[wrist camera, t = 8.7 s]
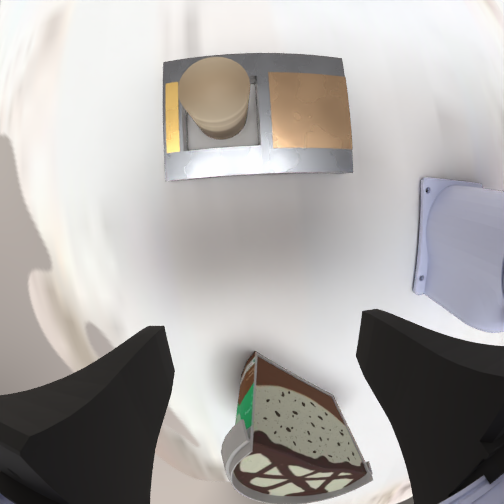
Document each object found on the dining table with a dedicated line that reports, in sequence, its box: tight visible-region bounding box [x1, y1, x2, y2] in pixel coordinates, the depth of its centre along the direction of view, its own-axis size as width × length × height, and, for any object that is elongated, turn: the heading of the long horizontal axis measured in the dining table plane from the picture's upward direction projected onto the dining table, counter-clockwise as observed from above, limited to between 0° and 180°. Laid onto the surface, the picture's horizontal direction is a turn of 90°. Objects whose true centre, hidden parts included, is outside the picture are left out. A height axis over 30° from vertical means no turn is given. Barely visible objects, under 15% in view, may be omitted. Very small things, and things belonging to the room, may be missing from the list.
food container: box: [221, 351, 373, 504], centre depth 17 cm, size 12×6×10 cm, turn 51°
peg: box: [178, 57, 250, 139], centre depth 13 cm, size 3×3×6 cm
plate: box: [163, 53, 353, 181], centre depth 15 cm, size 8×12×2 cm
